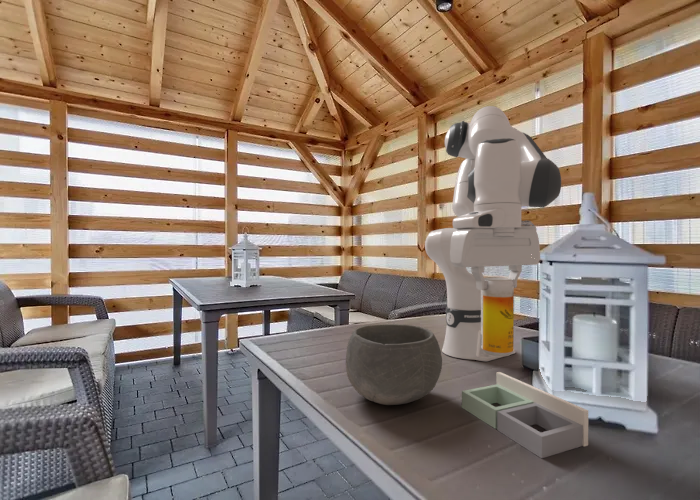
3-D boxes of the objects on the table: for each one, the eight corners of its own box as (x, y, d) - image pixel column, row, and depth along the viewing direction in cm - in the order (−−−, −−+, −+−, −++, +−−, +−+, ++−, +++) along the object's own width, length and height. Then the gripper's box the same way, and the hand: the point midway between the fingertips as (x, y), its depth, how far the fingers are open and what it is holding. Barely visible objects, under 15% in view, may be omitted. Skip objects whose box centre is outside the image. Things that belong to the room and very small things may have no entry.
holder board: (499, 398, 81) (499, 371, 81) (588, 445, 62) (588, 410, 62) (461, 407, 77) (461, 378, 77) (542, 459, 58) (543, 422, 58)
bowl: (441, 384, 89) (441, 323, 89) (443, 427, 69) (443, 348, 68) (356, 378, 94) (356, 319, 93) (334, 416, 73) (334, 341, 73)
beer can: (516, 358, 70) (517, 280, 70) (483, 356, 72) (483, 279, 71) (509, 349, 76) (509, 277, 76) (478, 347, 78) (479, 276, 77)
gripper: (523, 221, 80) (522, 284, 80) (445, 219, 73) (445, 289, 73) (548, 219, 74) (548, 287, 75) (466, 217, 67) (466, 293, 67)
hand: (496, 288), depth 74 cm, fingers closed on beer can, 6 cm apart
